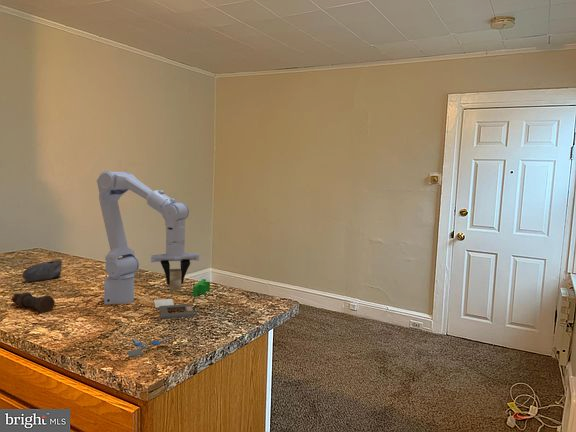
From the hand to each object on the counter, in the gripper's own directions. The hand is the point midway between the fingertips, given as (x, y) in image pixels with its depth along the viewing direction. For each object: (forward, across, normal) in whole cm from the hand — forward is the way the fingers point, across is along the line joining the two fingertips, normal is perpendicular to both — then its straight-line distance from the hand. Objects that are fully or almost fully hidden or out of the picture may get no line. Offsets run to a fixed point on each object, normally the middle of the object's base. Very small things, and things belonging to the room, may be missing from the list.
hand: (174, 283), depth 133 cm
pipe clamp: (+10, +12, +18) cm, 24 cm away
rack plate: (+10, 0, -2) cm, 10 cm away
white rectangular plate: (+10, -2, +8) cm, 13 cm away
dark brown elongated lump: (+10, -42, +16) cm, 46 cm away
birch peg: (+2, 0, 0) cm, 2 cm away
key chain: (+10, -11, -23) cm, 27 cm away
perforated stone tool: (+9, -44, +51) cm, 68 cm away
